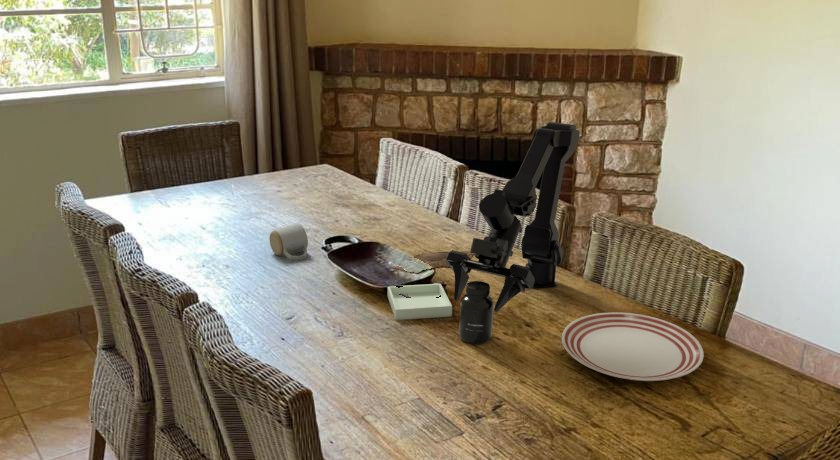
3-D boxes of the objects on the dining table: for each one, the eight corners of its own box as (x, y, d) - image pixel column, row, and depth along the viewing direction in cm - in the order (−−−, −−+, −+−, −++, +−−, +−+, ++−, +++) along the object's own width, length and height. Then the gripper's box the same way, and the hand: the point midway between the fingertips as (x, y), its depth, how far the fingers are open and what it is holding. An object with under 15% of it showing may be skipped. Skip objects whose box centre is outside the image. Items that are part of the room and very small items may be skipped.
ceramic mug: (268, 252, 206) (266, 225, 203) (295, 245, 211) (294, 219, 208) (287, 264, 198) (286, 236, 196) (315, 257, 203) (314, 230, 200)
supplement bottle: (469, 348, 157) (472, 294, 153) (453, 334, 162) (454, 281, 158) (498, 341, 160) (501, 288, 156) (480, 327, 165) (483, 276, 161)
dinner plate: (681, 408, 137) (683, 391, 136) (539, 365, 151) (540, 350, 150) (715, 347, 159) (717, 332, 158) (588, 315, 173) (590, 301, 172)
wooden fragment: (403, 277, 192) (403, 273, 191) (384, 262, 201) (384, 259, 200) (490, 261, 203) (490, 257, 203) (468, 247, 212) (468, 244, 212)
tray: (440, 293, 182) (440, 283, 181) (451, 316, 170) (452, 306, 170) (387, 296, 180) (387, 286, 179) (395, 320, 168) (395, 309, 167)
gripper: (450, 213, 162) (422, 279, 156) (533, 230, 152) (506, 300, 147) (466, 238, 171) (440, 301, 165) (545, 255, 161) (520, 322, 156)
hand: (475, 305), depth 158 cm, fingers open, 9 cm apart
